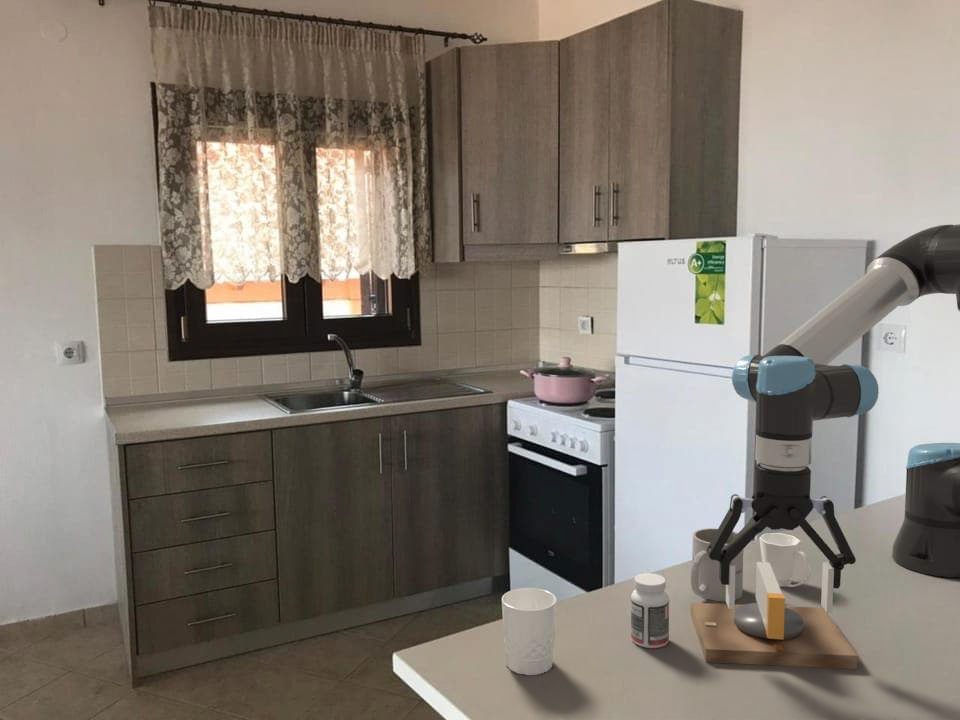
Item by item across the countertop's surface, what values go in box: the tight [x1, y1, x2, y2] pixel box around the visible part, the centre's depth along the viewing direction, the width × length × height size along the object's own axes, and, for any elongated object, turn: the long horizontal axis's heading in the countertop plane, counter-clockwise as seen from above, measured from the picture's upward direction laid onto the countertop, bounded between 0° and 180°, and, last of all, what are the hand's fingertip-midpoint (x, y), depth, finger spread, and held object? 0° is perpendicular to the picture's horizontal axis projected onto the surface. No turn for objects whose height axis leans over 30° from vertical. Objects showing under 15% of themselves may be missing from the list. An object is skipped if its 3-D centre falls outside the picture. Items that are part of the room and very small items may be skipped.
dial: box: [734, 561, 803, 640], centre depth 123 cm, size 14×10×7 cm
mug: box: [690, 527, 744, 602], centre depth 141 cm, size 12×9×10 cm
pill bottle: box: [630, 572, 670, 649], centre depth 123 cm, size 6×6×10 cm
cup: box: [758, 532, 812, 588], centre depth 144 cm, size 7×10×8 cm
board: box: [690, 602, 858, 670], centre depth 123 cm, size 21×16×2 cm
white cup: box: [501, 587, 557, 676], centre depth 117 cm, size 8×8×10 cm
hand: (777, 607), depth 117 cm, fingers open, 13 cm apart
